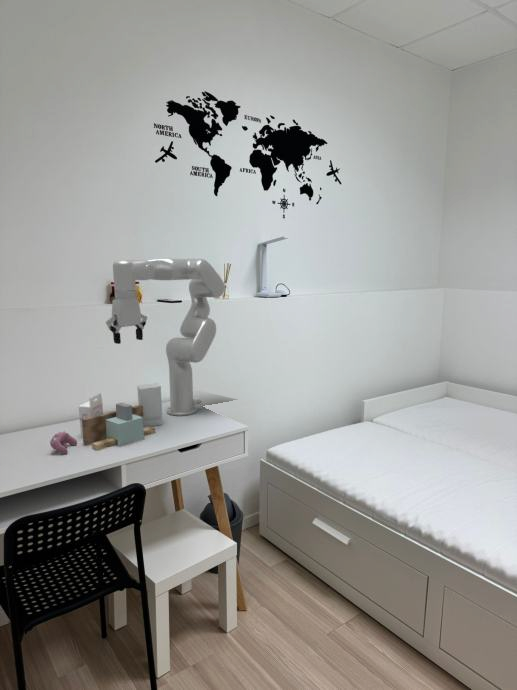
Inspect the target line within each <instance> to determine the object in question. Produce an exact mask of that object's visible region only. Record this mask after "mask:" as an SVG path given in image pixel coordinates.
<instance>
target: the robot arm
mask: <svg viewBox="0 0 517 690" xmlns="http://www.w3.org/2000/svg"><path fill="white" fill-rule="evenodd" d="M112 273H113V287H114V299H113V300H112V305H111V317H110V318H109V319H107V320H106V321H105V324H106V326H107V327H108V329H109V331H111V333H113V335H112V336H113V342H114V344H116V345H117V344H118V345H120V344H121V343H122V342H121V333H120V330H121V329H122V328H125V327H133V326H135V327H136V329H135V338H136V340H137V341H138V340H140V341H143V340H144V339H143V337H144V335H143V333H144V332H143V330H144V328H145V326H146V324H147V320H148V316H146V315H144V314H142V313H141V308H140V307H141V306H140V302H139V299H138V297H137V295H139V291H138V290H137V289H136V287H137V286H136V281H149V280H154V281H155V280H156V281H183V280H188V281H189V280H190V282H188V283H189V285H188V291H189V295H190V299H191V305H190V308H189V310H188V311H187V313H186V315H185V317H184V319H183V320H182V323H181V326H180V329H179V330H180V331H179V332H180V334H181V336H182V337H173V338H171V339H170V340H168V342H167V343H166V347H165V353H166V357H167V362H168V371H169V372H168V373H169V399H170V407H168V408H167V409H166V413H167V414H168V415H172V416H177V417H179V416H181V417H182V416H189V415H193V414H195V413H196V412H197V411H198V407H197V405H199V404H202V399H201V398H199V399H194V386H193V385H194V384H193V383H194V382H193V367H192V365H191V363H194V364H195V363H196V364H197V363H200V362H202V361H203V360H204V358H205V357H206V355H207V353H208V352H209V349H210V347H211V345H212V343H213V341H214V339H215V337H216V334H217V325H216V323H215V321H214V320H213V319H212V318H211V317H209V315H210V312H211V310H210V309H211V308H210V304H209V301H208V298H215V299H216V298H218V297H219V298H220V297H222V296H223V294H224V293H225V283H224V281H223V279H222V277H221V276H220V275H219V274H218V272H217V271H216V270H215V268H214V267H213V266H212V264H211V263H209V261H207V260H206V259H203V258H159V259H128V260H117V261H114V262H113V263H112Z"/></svg>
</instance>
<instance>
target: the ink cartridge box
mask: <svg viewBox="0 0 517 690" xmlns="http://www.w3.org/2000/svg"><path fill="white" fill-rule="evenodd" d="M95 399H96V400H95ZM78 413H79V414H78V415H79V426H80V427H79V428H80V437H81V438H83V431H82V419H85V418H90V417H94V416H98V415H102V414H104V409H103V399H102V394H101V392H100V393H97V394H96V395H93V396H91V397H90V398H89V401H87V402H85V403H83V404H81V405H79V406H78Z"/></svg>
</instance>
